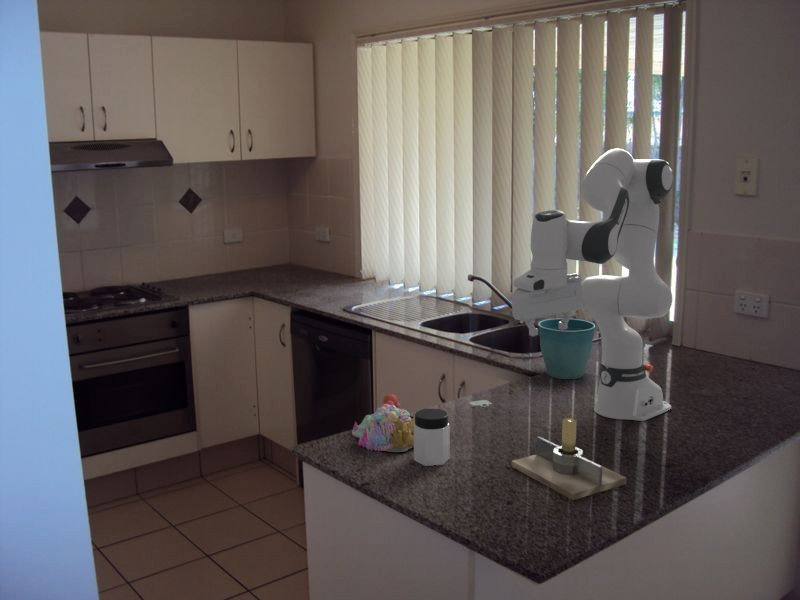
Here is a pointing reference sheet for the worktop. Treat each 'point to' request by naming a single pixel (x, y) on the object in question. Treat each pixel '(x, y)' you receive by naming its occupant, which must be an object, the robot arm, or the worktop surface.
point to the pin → (568, 436)
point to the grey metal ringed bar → (569, 461)
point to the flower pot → (566, 347)
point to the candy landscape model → (387, 428)
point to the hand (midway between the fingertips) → (548, 332)
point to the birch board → (566, 478)
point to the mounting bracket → (481, 403)
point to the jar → (431, 437)
